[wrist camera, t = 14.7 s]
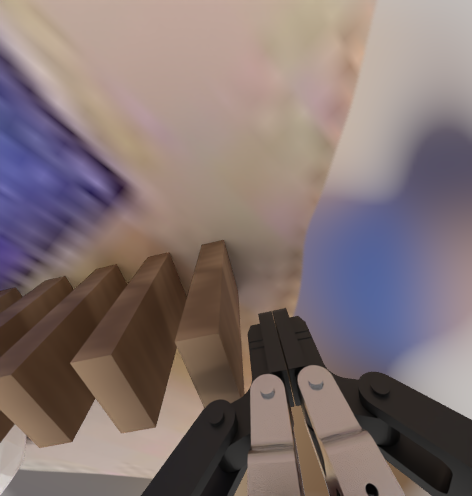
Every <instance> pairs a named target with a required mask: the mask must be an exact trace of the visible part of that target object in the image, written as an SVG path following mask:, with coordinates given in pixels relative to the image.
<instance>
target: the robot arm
mask: <svg viewBox="0 0 472 496" xmlns="http://www.w3.org/2000/svg"><path fill="white" fill-rule="evenodd" d="M258 315H259V321H260V324H257V325H252V326H250V329H249V331H248V342H249V350H250V351H249V352H250V361H251V371H252V384H251V387H250V389H249V390H248V392H247V393H246V394H245V395H244V396H243V397H241V398H239V399H238V400H236V401H234V402H232V403H231V404H230V403H229V402H228V401H226V400H222V399H219V400H215V401H213V402H211V403H209V404H208V405H207V406H206V407H205V408H204V410H203V411H202V412H201V414H200V415H199V416H198V418H197V419H196V421H195V422H194V423H193V425H192V426H191V428H190V429H189V430H188V432H187V433H186V434H185V436H184V437H183V439H182V440H181V441H180V443H179V444H178V445H177V447H176V448H175V450H174V451H173V452H172V454H171V455H170V456H169V458H168V459H167V461H166V462H165V463H164V465H163V466H162V467H161V469H160V470H159V472H158V473H157V474H156V476H155V477H154V478H153V480H152V481H151V483H150V484H149V486H148V487H147V488H146V489H145V491H144V492H143V494H142V495H141V496H234V494H235V492H236V490H237V488H238V486H239V484H240V482H241V480H242V478H243V476H244V474H245V472H246V470H247V468H248V496H305V494H304V488H303V483H302V476H301V470H300V464H299V459H298V452H297V446H296V440H295V434H294V428H293V427H294V421H293V416H292V412H291V407H294V402H293V397H294V400H295V404H296V406H299V405H301V407H302V411H303V414H304V419H305V424H306V427H307V430H308V433H309V436H310V439H311V441H312V444H313V447H314V450H315V453H316V456H317V458H318V461H319V464H320V467H321V470H322V473H323V475H324V478H325V481H326V484H327V488H328V491H329V495H330V496H406V495H405V494H404V492H403V490H402V489H401V487H400V485H399V483H398V482H397V480H396V478H395V476H394V475H393V473H392V471H391V469H390V467H389V466H388V464H387V462H386V460H387V461H388V462H389V463H391V464H392V465H393V466H394V467H396V468H397V469H398V470H400V471H401V472H402V473H403V474H405V475H406V476H407V477H409V478H410V479H411V480H412V481H414V482H415V483H416V484H418V485H419V486H420V487H421V488H423V489H424V490H425V491H427V492H428V493H429V494H430V495H432V496H472V420H471V419H469V418H467V417H465V416H463V415H461V414H459V413H457V412H455V411H454V410H452V409H450V408H448V407H446V406H444V405H442V404H441V403H439V402H437V401H435V400H433V399H431V398H429V397H427V396H425V395H423V394H422V393H420V392H418V391H416V390H414V389H412V388H410V387H408V386H406V385H405V384H403V383H401V382H399V381H397V380H395V379H393V378H391V377H389V376H387V375H385V374H382V373H379V372H368V373H365V374H363V375H362V376H361V377H360V379H359V380H356V379H348V378H342V377H339V376H337V375H335V374H333V373H331V372H330V371H329V370H328V369H327V368H326V367H325V365H324V363H323V361H322V359H321V357H320V354H319V352H318V350H317V347H316V345H315V343H314V341H313V339H312V336H311V334H310V332H309V329H308V327H307V325H306V323H305V321H303V320H302V319H301V318H300V317H299V316H295V317H291V318H289V315H288V313H287V310H286V308H284V309H279V310H274V311H273V315H272V312H271V311H270V312H265V313H260V314H258ZM273 316H274V319H273ZM274 321H275V323H274ZM275 326H276V327H275ZM289 381H290V382H289ZM290 385H291V387H290ZM291 389H292V392H293V397H292V392H291Z"/></svg>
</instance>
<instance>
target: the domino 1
mask: <svg viewBox="0 0 472 496" xmlns="http://www.w3.org/2000/svg"><path fill="white" fill-rule="evenodd" d="M72 291H73V288H72V287H71V285H70V283H69V282H68V280H67V278H66V277H65V276H64V277H59V278H55V279H51V280H46V281H44V282H43V283H41V284H40V285H39V286H37V287H36V288H34V289H33V290H32V291H30V292H29V293H28V294H26V295H25V296H23V297H22V298H21V299H19V300H18V301H17V302H15V303H14V304H12V305H11V306H10V307H8V308H7V309H6V310H4V311H3V312H1V313H0V357H1V356H2V355H3V354H4V353H6V352H7V351H8V350H9V349H10V348H11V347H12V346H13V345H14V344H15V343H16V342H18V341H19V340H20V339H21V338H22V337H23V336H24V335H25V334H26V333H27V332H28V331H30V330H31V329H32V328H33V327H34V326H35V325H36V324H37V323H38V322H39V321H40V320H41V319H43V318H44V317H45V316H46V315H47V314H48V313H49V312H50V311H51V310H52V309H53V308H55V307H56V306H57V305H58V304H59V303H60V302H61V301H62V300H63V299H64V298H65V297H67V296H68V295H69V294H70V293H71V292H72ZM14 425H15V424H14V423H13V422H12V421H11V420H10V419H9V418H8V417H7V416H6V415H5V414H4V413H3V412H2V411H1V410H0V443H1V441H2V440H3V439H4V438H5V436H6V435H7V434H8V432H9V431H10V430H11V428H12V427H13V426H14Z"/></svg>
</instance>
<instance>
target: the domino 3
mask: <svg viewBox="0 0 472 496" xmlns="http://www.w3.org/2000/svg"><path fill="white" fill-rule="evenodd" d="M186 300H187V297H186V295H185V292H184V289H183V287H182V284H181V282H180V279H179V276H178V274H177V271H176V269H175V266H174V263H173V261H172V258H171V256H170V253H164V254H160V255H156V256H151V257H148V258H147V259H146V260H145V262H144V263H143V265H142V266H141V267H140V269H139V270H138V271H137V273H136V274H135V275H134V277H133V278H132V279H131V281H130V282H129V284H128V285H127V286H126V288H125V289H124V290H123V292H122V293H121V294H120V296H119V297H118V298H117V300H116V301H115V303H114V304H113V305H112V307H111V308H110V309H109V311H108V312H107V313H106V315H105V316H104V317H103V319H102V320H101V322H100V323H99V324H98V326H97V327H96V328H95V330H94V331H93V332H92V334H91V335H90V336H89V338H88V339H87V341H86V342H85V343H84V345H83V346H82V347H81V349H80V350H79V351H78V353H77V354H76V355H75V357H74V358H73V360H72V361H71V362H70V364H71V365H72V367H73V368H74V369H75V371H76V372H77V374H78V375H79V376H80V378H81V379H82V380H83V382H84V383H85V384H86V386H87V387H88V389H89V390H90V391H91V393H92V394H93V395H94V397H95V398H96V400H97V401H98V402H99V404H100V405H101V406H102V408H103V409H104V411H105V412H106V413H107V415H108V416H109V417H110V419H111V420H112V421H113V423H114V424H115V426H116V427H117V428H118V430H119V431H120V432H121V433H126V432H132V431H138V430H143V429H149V428H155V427H156V424H157V421H158V417H159V413H160V409H161V405H162V402H163V398H164V394H165V390H166V386H167V382H168V379H169V375H170V371H171V367H172V363H173V360H174V356H175V352H176V348H177V346H176V344H175V339H176V335H177V332H178V328H179V325H180V321H181V317H182V314H183V310H184V307H185V303H186Z"/></svg>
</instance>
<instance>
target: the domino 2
mask: <svg viewBox="0 0 472 496" xmlns="http://www.w3.org/2000/svg"><path fill="white" fill-rule="evenodd" d="M126 286H127V284H126V282H125V280H124V278H123V276H122V274H121V272H120V270H119V268H118V266H117V264H116V265H112V266H108V267H104V268H100V269H96V270H95V271H94V272H93V273H92V274H90V275H89V276H88V277H87V278H86V279H85V280H84V281H83V282H82V283H81V284H80V285H79V286H77V287H76V288H75V289H74V290H73V291H72V292H71V293H70V294H69V295H68V296H67V297H65V298H64V299H63V300H62V301H61V302H60V303H59V304H58V305H57V306H56V307H55V308H53V309H52V310H51V311H50V312H49V313H48V314H47V315H46V316H45V317H44V318H43V319H41V320H40V321H39V322H38V323H37V324H36V325H35V326H34V327H33V328H32V329H31V330H30V331H28V332H27V333H26V334H25V335H24V336H23V337H22V338H21V339H20V340H19V341H18V342H16V343H15V344H14V345H13V346H12V347H11V348H10V349H9V350H8V351H7V352H6V353H4V354H3V355H2V356H1V357H0V410H1V411H2V412H3V413H4V414H5V415H6V416H7V417H8V418H9V419H10V420H11V421H12V422H13V423H14V424H15V425H16V426H17V427H18V428H19V429H21V430H22V431H23V432H24V433H25V434H26V435H27V436H28V437H29V438H30V439H31V440H32V441H33V442H34V443H35V444H36V445H37V446H38V447H39V448H42V447H48V446H53V445H59V444H64V443H69V442H72V441H73V440H74V438H75V436H76V434H77V432H78V430H79V428H80V426H81V424H82V423H83V421H84V419H85V417H86V415H87V413H88V411H89V409H90V408H91V406H92V404H93V402H94V400H95V397H94V395H93V394H92V393H91V391H90V390H89V389H88V387H87V386H86V384H85V383H84V382H83V380H82V379H81V378H80V376H79V375H78V374H77V372H76V371H75V369H74V368H73V367H72V365H71V364H70V362H71V361H72V360H73V358H74V357H75V355H76V354H77V353H78V351H79V350H80V349H81V347H82V346H83V345H84V343H85V342H86V341H87V339H88V338H89V336H90V335H91V334H92V332H93V331H94V330H95V328H96V327H97V326H98V324H99V323H100V322H101V320H102V319H103V317H104V316H105V315H106V313H107V312H108V311H109V309H110V308H111V307H112V305H113V304H114V303H115V301H116V300H117V298H118V297H119V296H120V294H121V293H122V292H123V290H124V289H125V288H126Z"/></svg>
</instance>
